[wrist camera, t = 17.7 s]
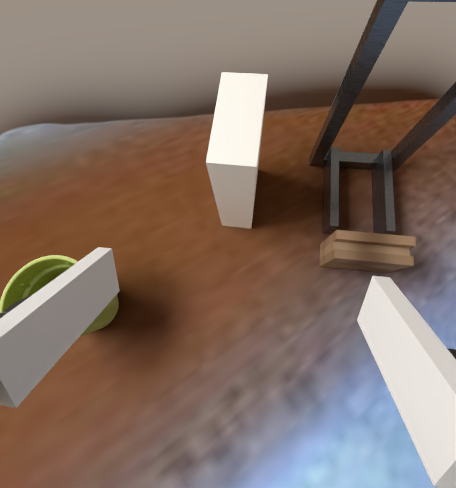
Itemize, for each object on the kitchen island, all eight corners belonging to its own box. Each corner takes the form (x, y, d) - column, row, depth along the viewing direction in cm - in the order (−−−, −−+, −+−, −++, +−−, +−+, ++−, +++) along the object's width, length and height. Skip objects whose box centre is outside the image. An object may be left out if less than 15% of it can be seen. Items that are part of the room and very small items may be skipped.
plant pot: (88, 257, 34) (37, 240, 26) (146, 288, 32) (112, 280, 24) (47, 321, 32) (-22, 325, 24) (107, 357, 30) (55, 375, 22)
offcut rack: (393, 161, 35) (603, -47, 15) (398, 240, 32) (667, 117, 12) (309, 156, 36) (396, -45, 16) (307, 231, 33) (408, 106, 13)
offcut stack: (383, 250, 32) (415, 236, 26) (384, 273, 31) (417, 264, 25) (320, 244, 32) (336, 229, 27) (319, 266, 32) (336, 256, 26)
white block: (258, 169, 36) (267, 74, 21) (251, 228, 34) (256, 166, 19) (230, 167, 36) (221, 72, 22) (222, 225, 34) (205, 162, 19)
